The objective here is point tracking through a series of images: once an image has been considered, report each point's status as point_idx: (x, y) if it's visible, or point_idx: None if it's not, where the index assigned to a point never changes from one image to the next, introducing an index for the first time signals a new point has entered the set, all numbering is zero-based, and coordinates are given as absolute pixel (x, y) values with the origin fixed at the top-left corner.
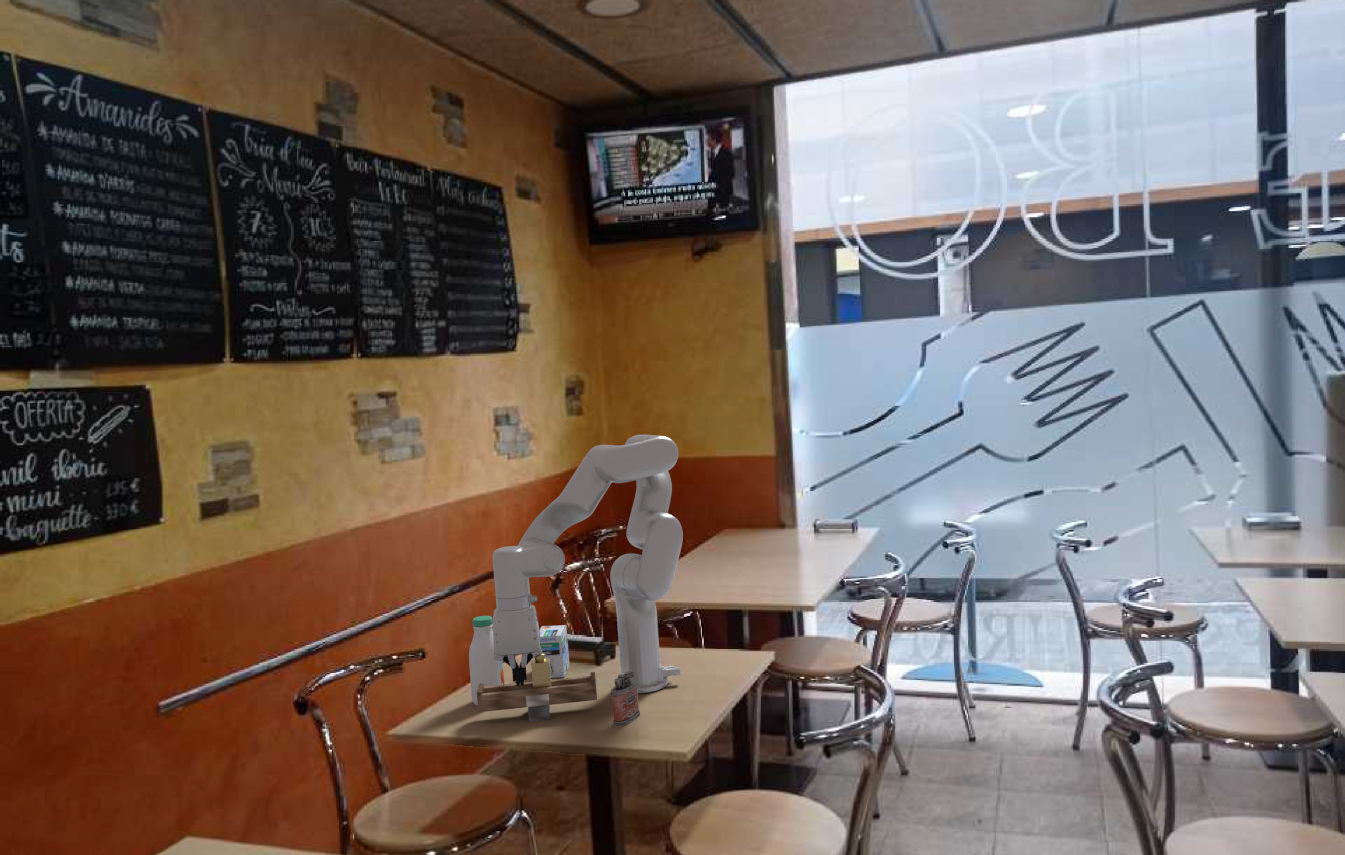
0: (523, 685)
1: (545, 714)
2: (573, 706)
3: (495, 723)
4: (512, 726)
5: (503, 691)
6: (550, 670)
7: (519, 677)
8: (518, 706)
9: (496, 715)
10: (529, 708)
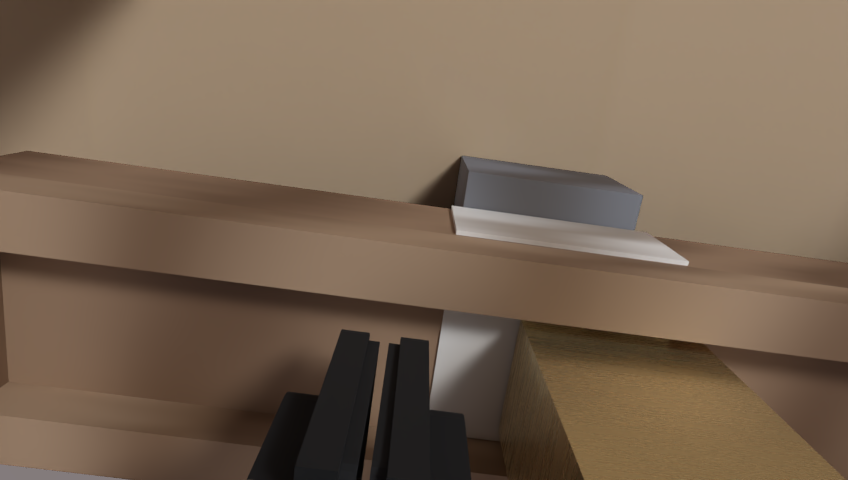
0: (417, 301)
1: None
2: (772, 220)
3: None
4: None
5: (194, 442)
6: (812, 458)
7: (364, 446)
8: None
9: (207, 162)
10: None
